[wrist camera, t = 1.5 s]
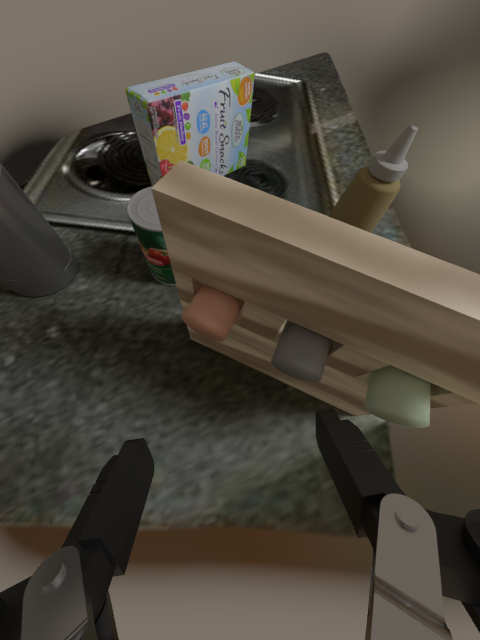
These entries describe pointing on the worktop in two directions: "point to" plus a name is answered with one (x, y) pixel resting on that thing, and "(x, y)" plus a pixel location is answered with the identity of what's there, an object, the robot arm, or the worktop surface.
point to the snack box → (194, 119)
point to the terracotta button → (212, 313)
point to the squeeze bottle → (374, 186)
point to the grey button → (301, 353)
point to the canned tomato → (150, 235)
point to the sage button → (398, 397)
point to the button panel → (320, 290)
